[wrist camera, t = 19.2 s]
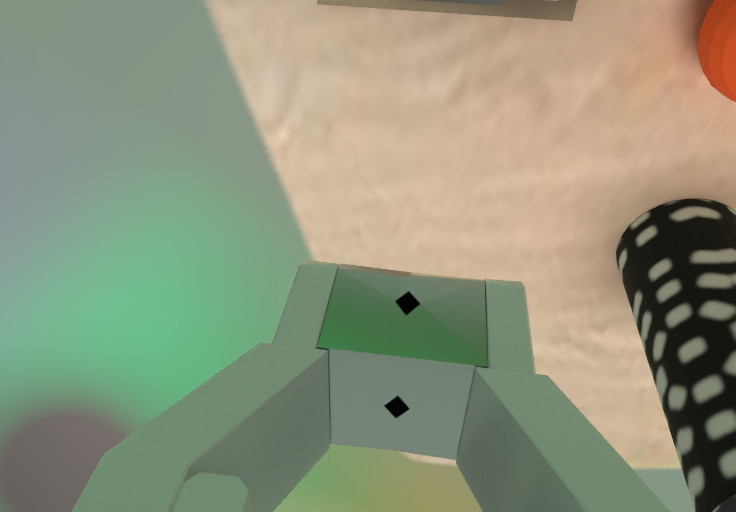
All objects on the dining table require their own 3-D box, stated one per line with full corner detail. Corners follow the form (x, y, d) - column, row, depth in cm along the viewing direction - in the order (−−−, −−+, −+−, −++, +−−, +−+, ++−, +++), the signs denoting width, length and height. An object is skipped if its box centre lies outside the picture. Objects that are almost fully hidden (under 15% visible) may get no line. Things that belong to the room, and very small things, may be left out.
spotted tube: (692, 175, 38) (849, 446, 22) (774, 243, 40) (969, 533, 25) (590, 254, 43) (662, 523, 27) (669, 311, 45) (777, 589, 29)
